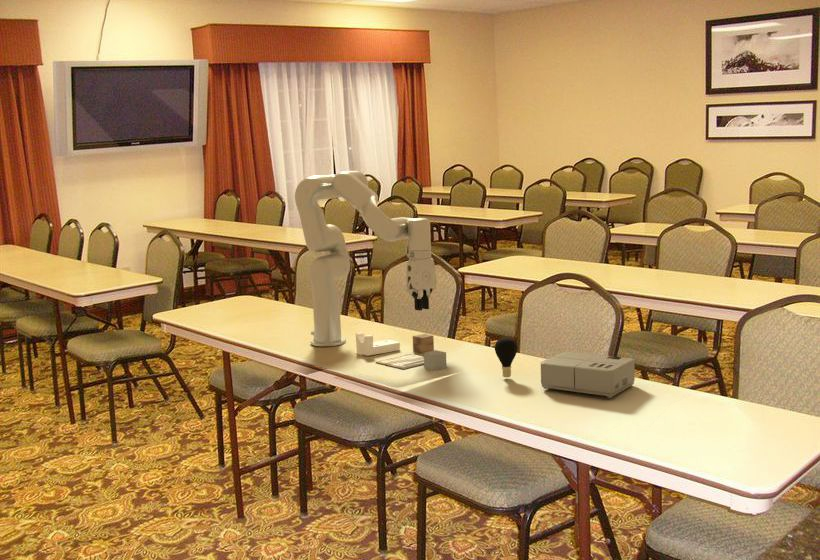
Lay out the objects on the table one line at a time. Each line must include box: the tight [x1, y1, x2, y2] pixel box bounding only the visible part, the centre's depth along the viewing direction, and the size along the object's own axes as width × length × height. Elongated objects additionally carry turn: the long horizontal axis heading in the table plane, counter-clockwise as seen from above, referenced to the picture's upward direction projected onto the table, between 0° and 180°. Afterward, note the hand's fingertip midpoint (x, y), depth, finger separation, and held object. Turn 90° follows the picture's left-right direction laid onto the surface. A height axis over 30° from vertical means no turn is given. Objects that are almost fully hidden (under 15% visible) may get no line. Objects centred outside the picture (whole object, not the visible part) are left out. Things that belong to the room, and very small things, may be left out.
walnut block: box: [412, 333, 435, 355], centre depth 294 cm, size 5×5×6 cm
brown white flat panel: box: [375, 353, 424, 371], centre depth 282 cm, size 14×16×1 cm
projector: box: [540, 351, 636, 399], centre depth 244 cm, size 17×22×8 cm
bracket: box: [355, 331, 401, 356], centre depth 296 cm, size 13×7×8 cm, turn 123°
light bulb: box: [494, 336, 518, 378], centre depth 256 cm, size 7×7×12 cm
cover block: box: [423, 349, 448, 371], centre depth 272 cm, size 5×5×5 cm
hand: (421, 309), depth 292 cm, fingers closed
